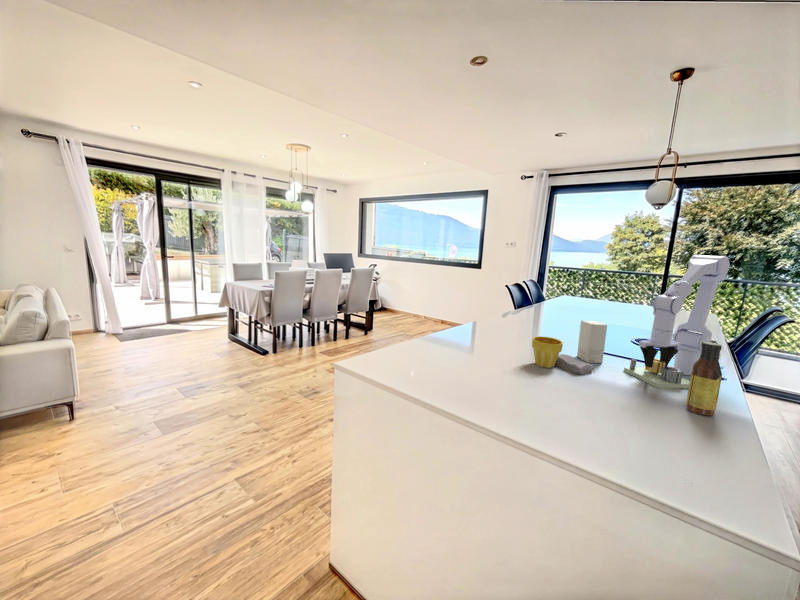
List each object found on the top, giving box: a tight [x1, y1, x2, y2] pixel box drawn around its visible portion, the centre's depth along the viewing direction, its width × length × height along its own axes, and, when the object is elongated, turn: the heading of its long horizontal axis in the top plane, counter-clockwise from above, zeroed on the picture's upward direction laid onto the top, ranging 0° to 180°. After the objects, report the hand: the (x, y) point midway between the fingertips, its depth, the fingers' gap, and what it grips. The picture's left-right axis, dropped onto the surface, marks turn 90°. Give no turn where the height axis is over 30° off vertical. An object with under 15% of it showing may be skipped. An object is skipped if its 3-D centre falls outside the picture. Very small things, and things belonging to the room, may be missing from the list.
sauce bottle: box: [685, 341, 723, 417], centre depth 94 cm, size 7×6×20 cm
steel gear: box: [660, 366, 684, 384], centre depth 113 cm, size 5×5×4 cm
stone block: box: [554, 353, 594, 376], centre depth 125 cm, size 12×5×10 cm
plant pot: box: [531, 335, 564, 369], centre depth 126 cm, size 10×10×10 cm
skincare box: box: [576, 320, 608, 364], centre depth 135 cm, size 8×7×16 cm
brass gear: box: [644, 358, 665, 374], centre depth 120 cm, size 5×5×4 cm
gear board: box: [623, 358, 690, 390], centre depth 118 cm, size 14×15×6 cm
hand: (655, 366), depth 120 cm, fingers closed on brass gear, 5 cm apart
